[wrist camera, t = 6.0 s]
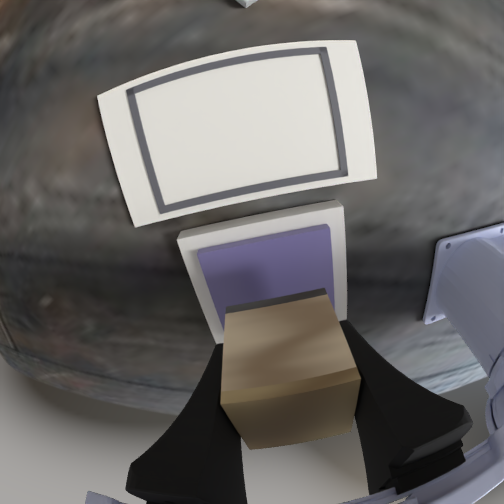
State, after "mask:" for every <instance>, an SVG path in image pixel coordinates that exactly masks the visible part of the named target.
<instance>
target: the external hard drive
mask: <svg viewBox="0 0 504 504" xmlns="http://www.w3.org/2000/svg"><path fill="white" fill-rule="evenodd" d="M236 1H237V2H238V3H240V4H241V5H242V6H243V7H245V8H247V7H248V6H250V5H251V4H253V3H254V2H256V1H257V0H236Z"/></svg>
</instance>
